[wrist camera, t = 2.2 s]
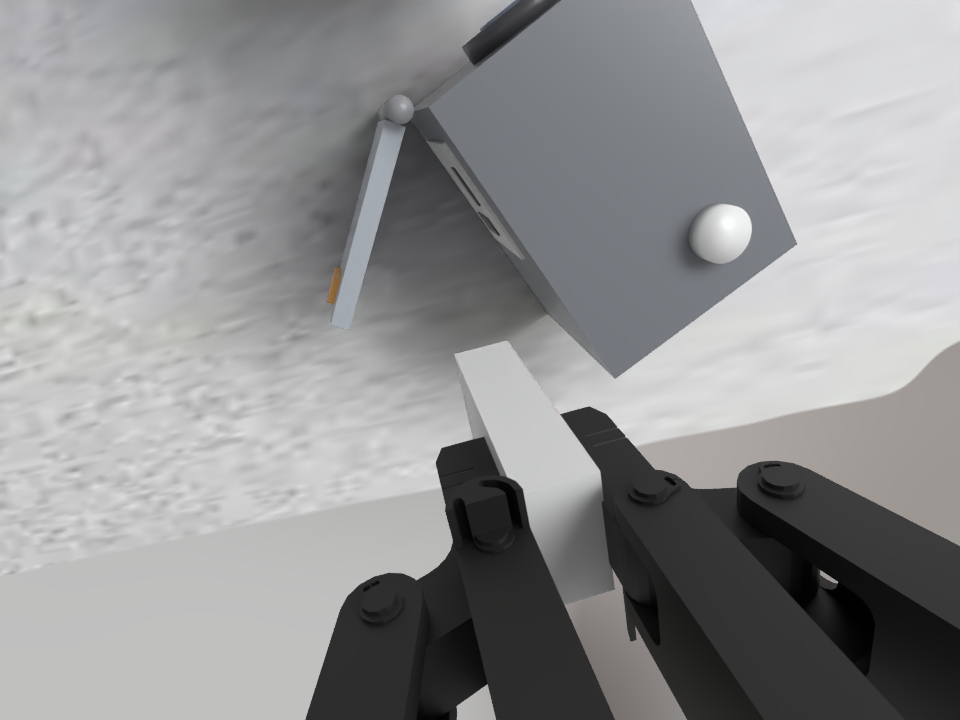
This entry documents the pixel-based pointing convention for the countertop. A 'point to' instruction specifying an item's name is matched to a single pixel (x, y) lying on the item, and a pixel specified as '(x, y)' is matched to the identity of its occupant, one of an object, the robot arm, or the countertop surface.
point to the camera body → (608, 166)
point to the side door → (368, 209)
